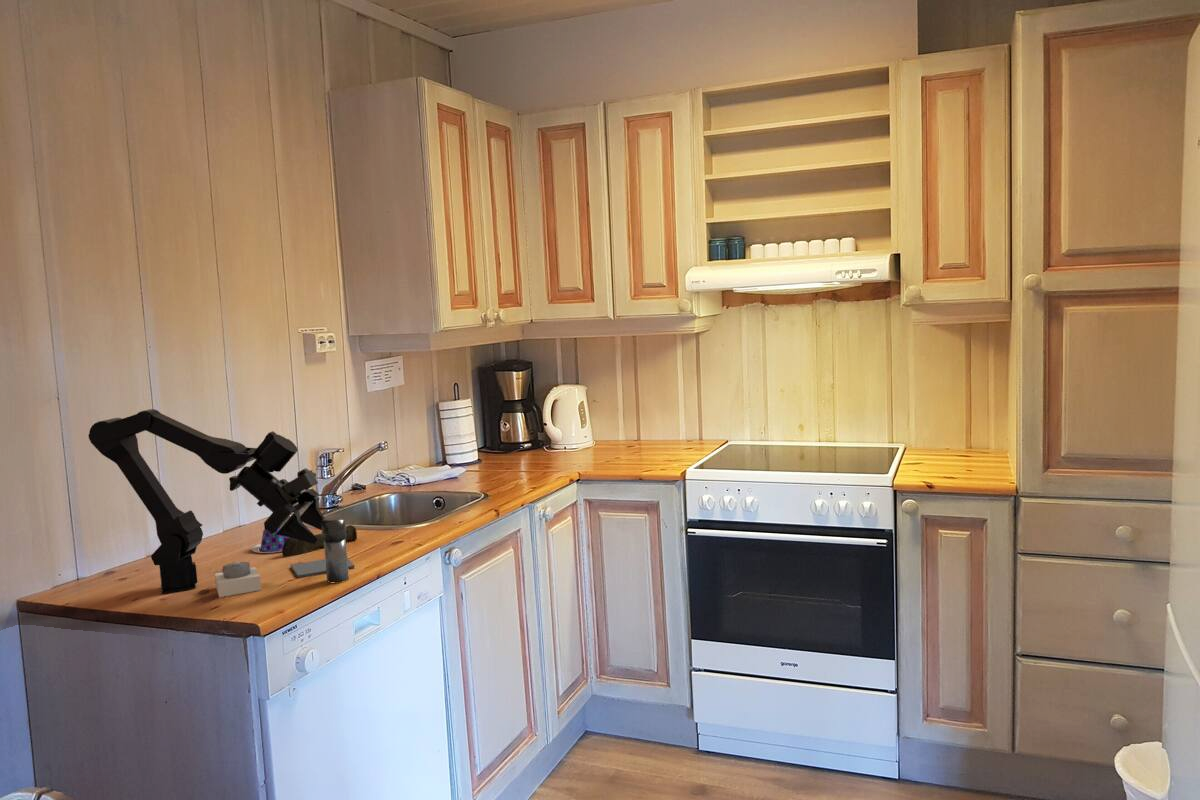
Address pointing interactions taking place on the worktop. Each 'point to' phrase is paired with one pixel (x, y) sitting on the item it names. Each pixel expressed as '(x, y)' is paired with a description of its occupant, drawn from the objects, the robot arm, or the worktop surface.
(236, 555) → the worktop surface
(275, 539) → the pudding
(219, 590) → the block
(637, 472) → the worktop surface
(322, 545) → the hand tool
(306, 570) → the rest mat
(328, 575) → the grey upright cylinder
